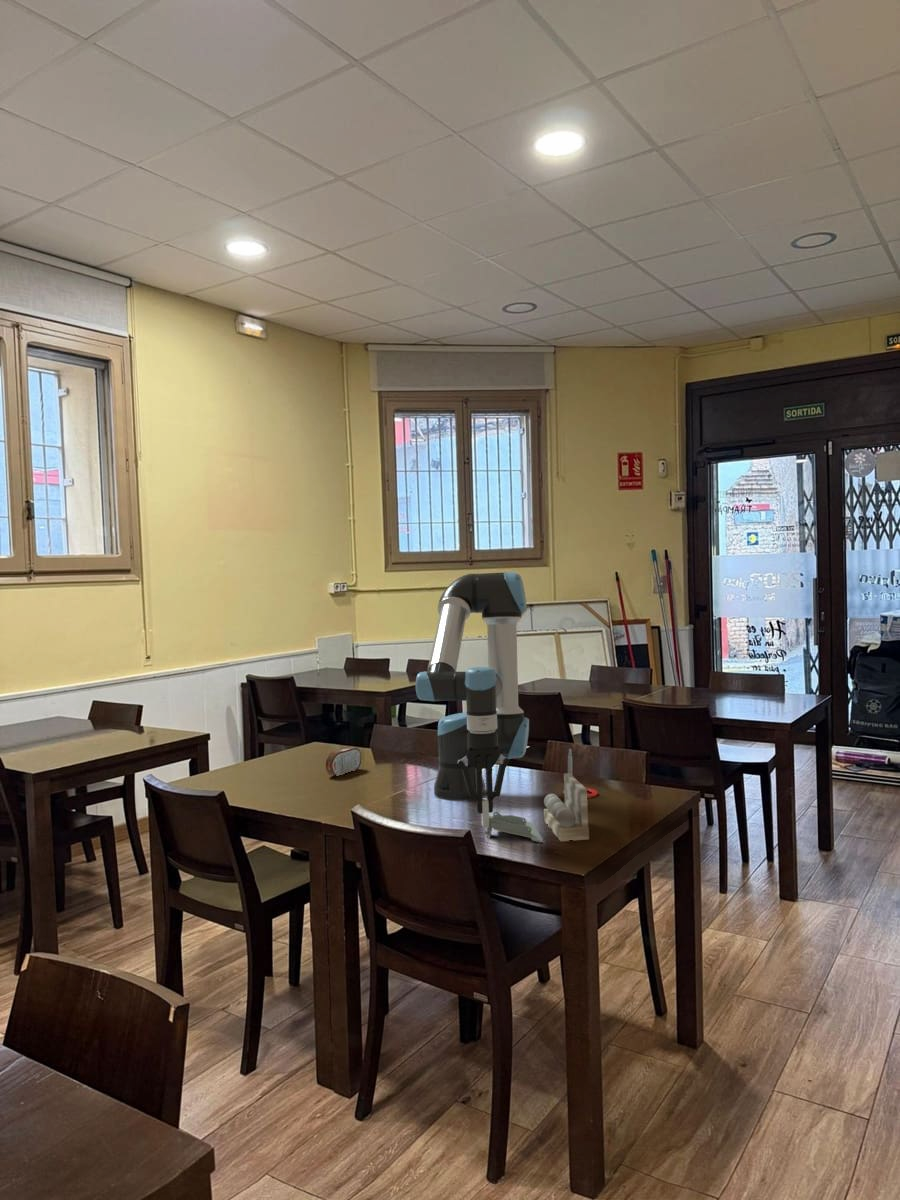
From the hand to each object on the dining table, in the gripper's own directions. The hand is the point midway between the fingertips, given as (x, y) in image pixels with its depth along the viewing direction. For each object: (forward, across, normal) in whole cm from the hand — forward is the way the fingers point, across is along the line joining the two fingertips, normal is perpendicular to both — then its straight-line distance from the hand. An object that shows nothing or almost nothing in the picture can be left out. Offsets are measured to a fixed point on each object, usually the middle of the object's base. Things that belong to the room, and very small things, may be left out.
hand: (485, 825), depth 203 cm
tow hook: (+3, +33, +30) cm, 45 cm away
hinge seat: (+2, +20, 0) cm, 20 cm away
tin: (+3, -36, +73) cm, 81 cm away
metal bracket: (+3, +7, -1) cm, 8 cm away
